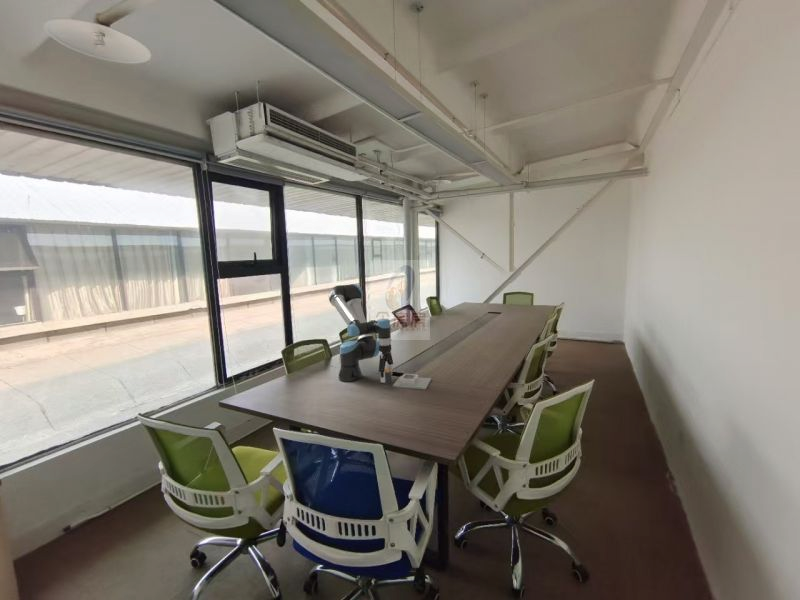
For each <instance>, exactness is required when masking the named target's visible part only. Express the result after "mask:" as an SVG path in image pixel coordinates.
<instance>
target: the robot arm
mask: <svg viewBox="0 0 800 600" xmlns="http://www.w3.org/2000/svg"><path fill="white" fill-rule="evenodd" d="M363 297H364V291H363V289H362V287H361V286H360V285H359V284H357V283H356V284H353V283H352V284H351V283H350V284H343V285H335V286H334V287H332V288H331V290H330V291H329V293H328V300H329V303H330V304H331V306H333V307H334V308H335V309H336V311H337V312H338V313H339V315H340V316H341V318H342V319H343V321H344V323H346V325H347V327H346V331H347V335H348V336H349V337H351V338H352V337H357V339H356V340H348V341H345V342H343V343H341V345H340V346H339V360H340V368H339V373H338V380H339V381H340V382H344V383H350V382H356V381H359V380H361V379H362V378H363V373H362V369H361V367H360V361H363V360H366V359H367V360H368V359H372V358H375V357H377V356H378V355H379V353H380V352H381V354H380V355H379V362H378V363H379V364H378V373H379V374H380V375H379V377H380V383H382V382H384V383H385V371H384V369H386V363H387V369H391V376H393V365H394V360H393V356H392V337H391V322H390V319H389V318H380V319H379V318H378V320H375V319H373V320H372V319H371V320H369V321H367V320H366V316H365V314H364V310H363V307H362V304H361V302H362V301H363ZM373 334H377V336H378V339H376V338H374V336H373Z"/></svg>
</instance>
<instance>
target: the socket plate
mask: <svg viewBox="0 0 800 600" xmlns="http://www.w3.org/2000/svg"><path fill="white" fill-rule="evenodd" d="M431 382H432V378H431V377H419V374H417V373H403V374H402V375H400V376H399V377H398V378H397V380H396V381H395V382H394V383H393V384H392V388H403V389H416V390H427V388H428V387H429V385H430V383H431Z"/></svg>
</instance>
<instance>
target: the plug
mask: <svg viewBox="0 0 800 600" xmlns="http://www.w3.org/2000/svg"><path fill="white" fill-rule="evenodd" d="M384 371H385V383H384V382H381V384H384V385H390V384H391V383H392V375H391V369H388V368H385V369H384Z"/></svg>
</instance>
